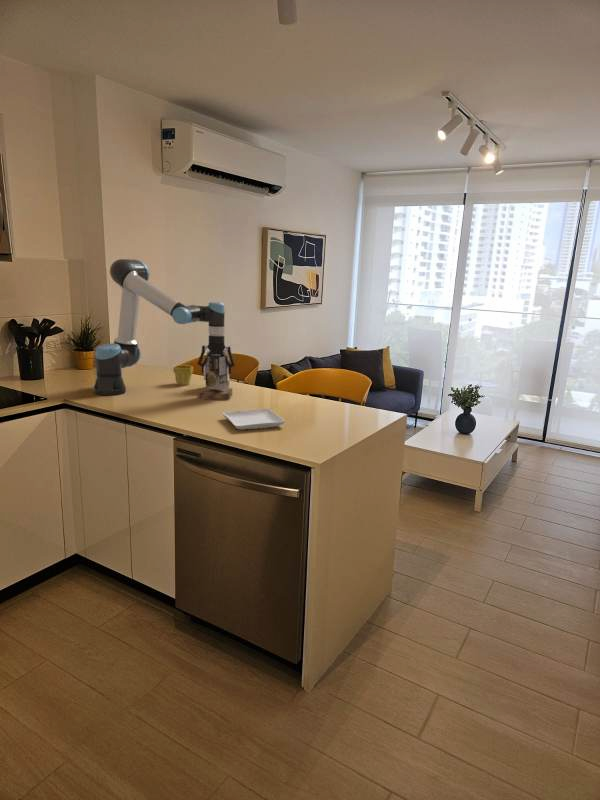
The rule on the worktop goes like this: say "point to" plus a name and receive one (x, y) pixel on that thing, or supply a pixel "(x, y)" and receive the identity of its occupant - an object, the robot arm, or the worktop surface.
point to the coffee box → (216, 372)
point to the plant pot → (183, 374)
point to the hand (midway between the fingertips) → (216, 380)
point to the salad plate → (253, 419)
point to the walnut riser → (216, 393)
